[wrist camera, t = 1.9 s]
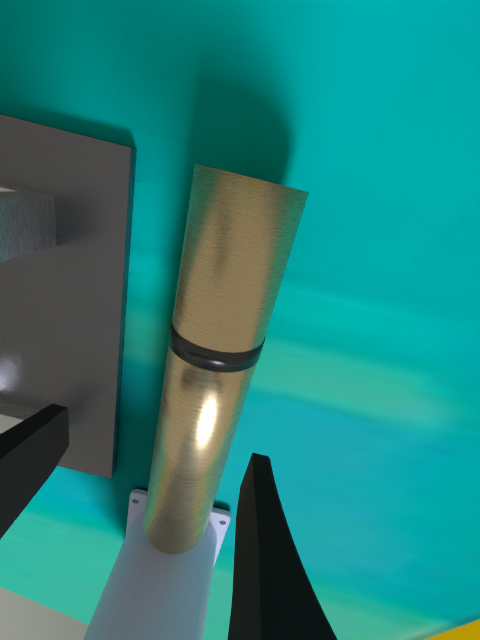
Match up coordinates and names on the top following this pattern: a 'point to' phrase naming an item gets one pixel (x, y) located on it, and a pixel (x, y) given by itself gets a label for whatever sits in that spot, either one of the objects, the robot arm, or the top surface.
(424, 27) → the top surface
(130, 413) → the top surface
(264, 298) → the tube
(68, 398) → the plate
